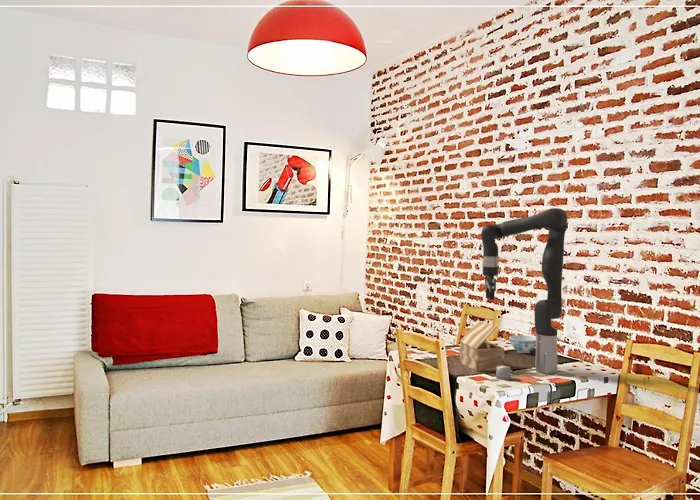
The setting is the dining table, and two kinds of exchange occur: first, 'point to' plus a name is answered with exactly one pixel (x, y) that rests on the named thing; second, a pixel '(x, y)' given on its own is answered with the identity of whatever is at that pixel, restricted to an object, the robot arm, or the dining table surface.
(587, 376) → the dining table surface
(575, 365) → the dining table surface
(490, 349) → the wooden box
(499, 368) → the grey rounded block
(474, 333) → the box lid
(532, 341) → the chinaware
